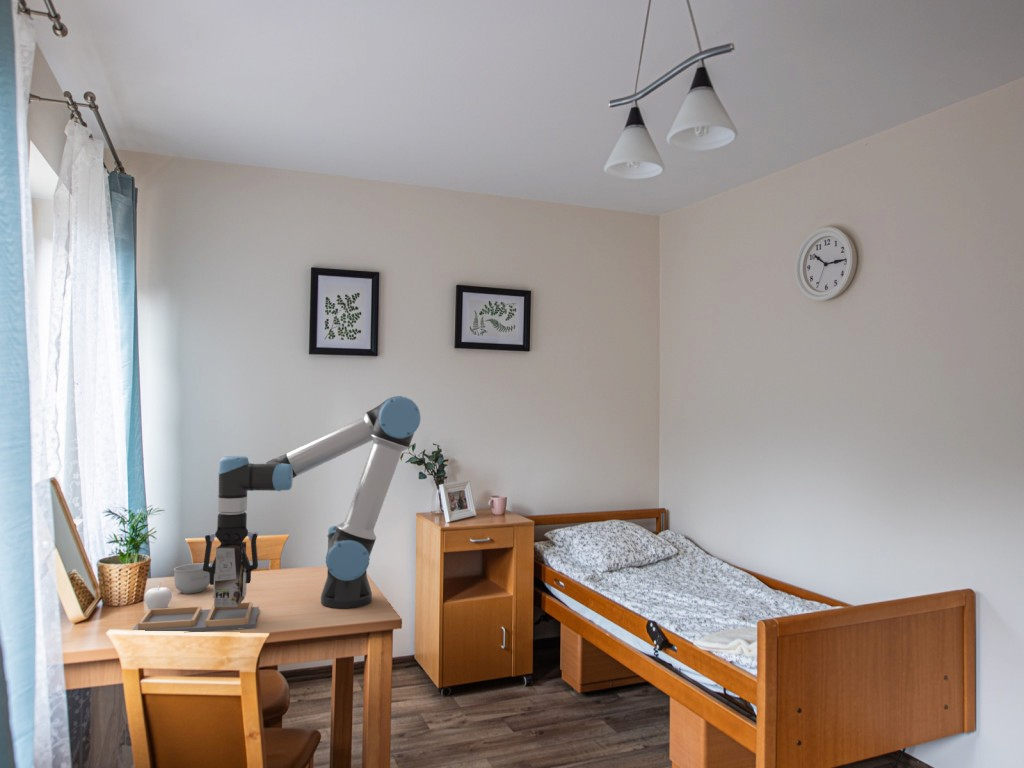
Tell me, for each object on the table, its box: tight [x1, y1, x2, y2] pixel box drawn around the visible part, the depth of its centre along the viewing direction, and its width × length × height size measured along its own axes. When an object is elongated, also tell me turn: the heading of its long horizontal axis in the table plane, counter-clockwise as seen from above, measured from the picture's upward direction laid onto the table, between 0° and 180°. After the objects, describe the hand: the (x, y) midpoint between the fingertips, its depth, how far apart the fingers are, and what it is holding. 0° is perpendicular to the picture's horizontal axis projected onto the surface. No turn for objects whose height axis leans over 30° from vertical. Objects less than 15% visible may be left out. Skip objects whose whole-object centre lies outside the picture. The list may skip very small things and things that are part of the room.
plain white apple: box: [144, 581, 173, 610], centre depth 210 cm, size 7×7×8 cm
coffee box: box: [213, 541, 247, 607], centre depth 202 cm, size 9×6×16 cm
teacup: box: [173, 561, 212, 594], centre depth 232 cm, size 14×11×8 cm
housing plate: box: [132, 601, 260, 632], centre depth 199 cm, size 30×17×2 cm, turn 105°
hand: (230, 595), depth 201 cm, fingers closed on coffee box, 7 cm apart
